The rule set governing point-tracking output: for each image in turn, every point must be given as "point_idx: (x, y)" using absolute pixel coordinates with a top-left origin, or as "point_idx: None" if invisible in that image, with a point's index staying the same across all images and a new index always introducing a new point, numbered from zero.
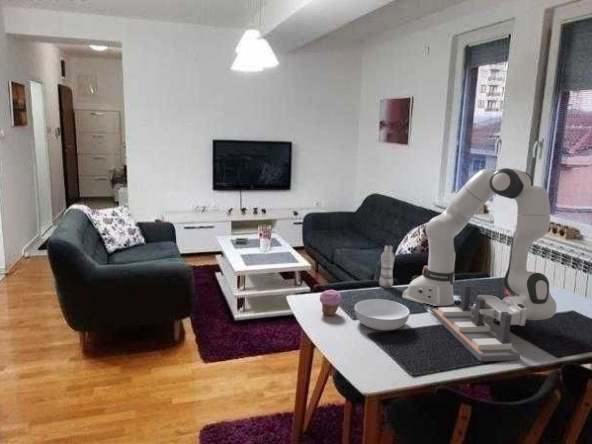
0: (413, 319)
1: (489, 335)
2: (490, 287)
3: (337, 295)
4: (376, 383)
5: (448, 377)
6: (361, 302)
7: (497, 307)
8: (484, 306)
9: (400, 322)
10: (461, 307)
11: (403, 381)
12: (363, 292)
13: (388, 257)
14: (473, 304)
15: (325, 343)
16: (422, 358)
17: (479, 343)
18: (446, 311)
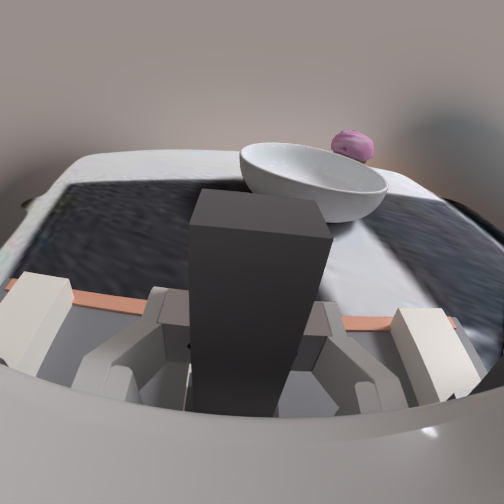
0: (367, 268)
1: None
2: None
3: (347, 136)
4: (88, 161)
5: (28, 214)
6: (354, 163)
7: (71, 442)
8: (189, 312)
9: (246, 174)
10: (469, 389)
11: (69, 175)
12: (484, 241)
13: None
14: (331, 303)
15: (222, 152)
16: (110, 207)
17: (27, 279)
18: (410, 323)
